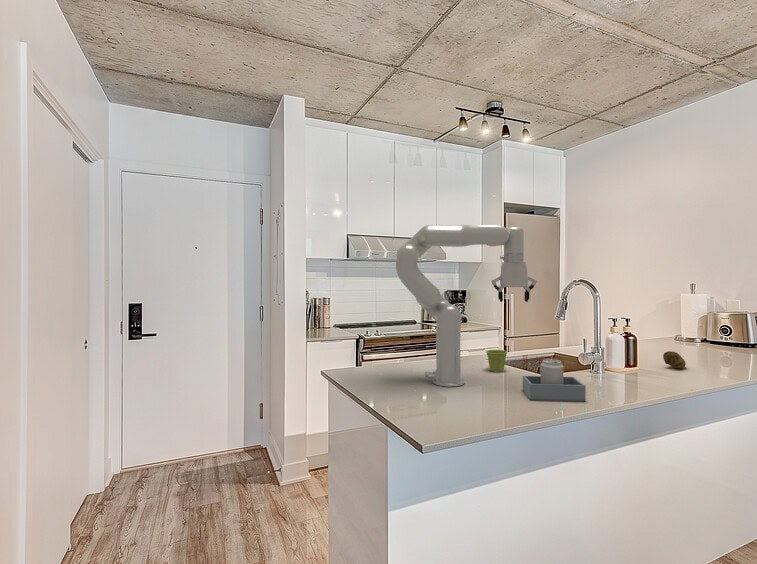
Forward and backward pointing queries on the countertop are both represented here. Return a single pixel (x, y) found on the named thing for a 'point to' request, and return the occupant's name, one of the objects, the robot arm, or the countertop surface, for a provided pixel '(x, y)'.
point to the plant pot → (496, 360)
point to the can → (551, 372)
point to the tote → (554, 390)
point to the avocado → (674, 359)
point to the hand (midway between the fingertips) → (513, 301)
